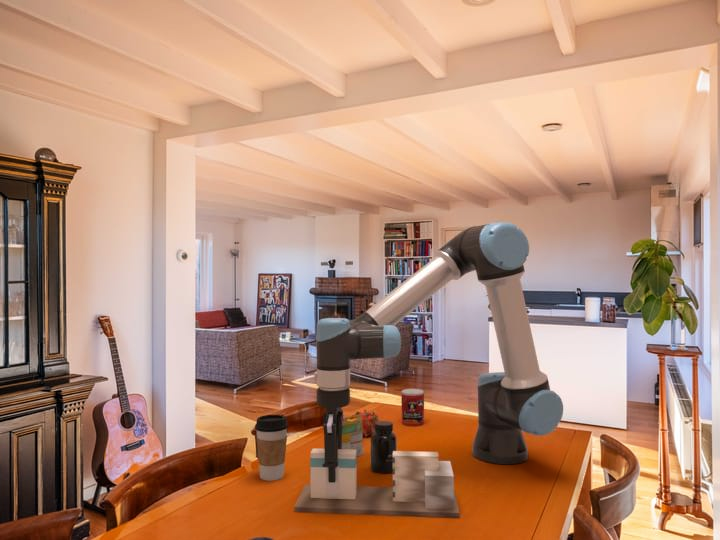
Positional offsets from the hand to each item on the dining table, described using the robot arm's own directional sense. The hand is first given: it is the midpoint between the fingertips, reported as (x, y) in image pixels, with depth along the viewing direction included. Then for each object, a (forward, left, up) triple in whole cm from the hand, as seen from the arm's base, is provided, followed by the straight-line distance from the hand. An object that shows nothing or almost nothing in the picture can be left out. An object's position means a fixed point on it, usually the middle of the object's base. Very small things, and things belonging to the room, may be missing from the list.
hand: (333, 491), depth 116 cm
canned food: (-18, -63, -2) cm, 66 cm away
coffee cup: (+18, -13, -2) cm, 22 cm away
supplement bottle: (-10, -20, -2) cm, 23 cm away
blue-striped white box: (0, 0, -1) cm, 1 cm away
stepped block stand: (-10, 0, -2) cm, 10 cm away
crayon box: (0, -29, -2) cm, 29 cm away
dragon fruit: (-2, -48, -2) cm, 48 cm away
